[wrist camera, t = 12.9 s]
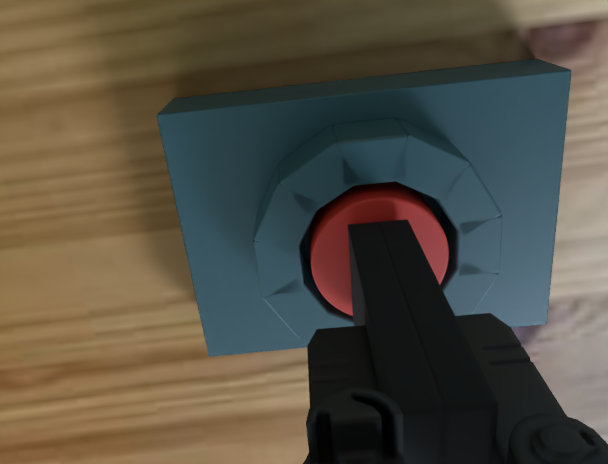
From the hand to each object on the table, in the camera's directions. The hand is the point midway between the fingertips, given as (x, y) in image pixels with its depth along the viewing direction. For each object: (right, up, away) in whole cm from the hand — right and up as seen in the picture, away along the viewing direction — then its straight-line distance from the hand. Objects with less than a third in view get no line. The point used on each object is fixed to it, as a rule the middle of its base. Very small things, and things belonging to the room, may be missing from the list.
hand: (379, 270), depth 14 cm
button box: (0, +2, +4) cm, 5 cm away
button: (0, +1, +2) cm, 2 cm away
